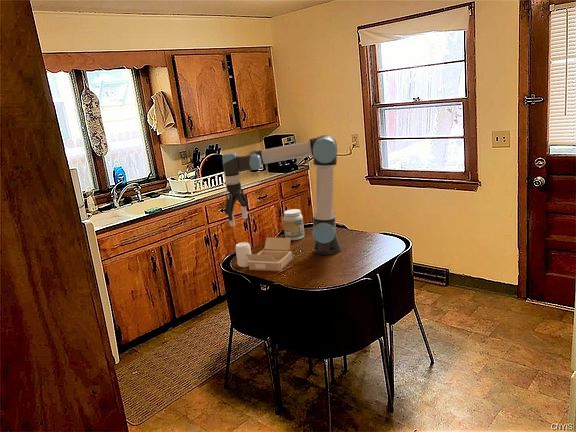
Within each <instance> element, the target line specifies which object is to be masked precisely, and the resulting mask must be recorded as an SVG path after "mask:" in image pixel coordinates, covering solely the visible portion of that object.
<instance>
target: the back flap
mask: <svg viewBox="0 0 576 432" xmlns="http://www.w3.org/2000/svg"><path fill="white" fill-rule="evenodd" d="M291 241H292V240H291V238H286V237H266V238H265V244H264V249H263V250H272V251H290V247H291Z"/></svg>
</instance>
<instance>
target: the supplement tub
mask: <svg viewBox="0 0 576 432" xmlns="http://www.w3.org/2000/svg"><path fill="white" fill-rule="evenodd" d="M282 222H283V229H284V236H285V237H284V238H291V241H298V240H301V239H303V238H304V237H305V228H304V227H305V226H304V218H303V215H302V212H301V209H295V208H293V209H292V208H291V209H287V210H285V211H283V218H282Z"/></svg>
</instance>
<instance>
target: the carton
mask: <svg viewBox="0 0 576 432" xmlns="http://www.w3.org/2000/svg"><path fill="white" fill-rule="evenodd" d="M256 255H272V257H273V258H274V259H275V260H276V262H266V261H250V260H249V262H248V264H249V266H248V269H249V270H250V271H264V272H279V273H280V272H281V271H282V270H284V268H285V267H286V266H287V265H288V264H290V263H291V262H292V261H293V259H294V257H293V251H291V250H267V249H262V250H261V251H259V252H258V253H257V254H256Z"/></svg>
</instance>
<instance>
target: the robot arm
mask: <svg viewBox="0 0 576 432" xmlns="http://www.w3.org/2000/svg"><path fill="white" fill-rule="evenodd" d="M309 156H310V157H312V158H313V159H312V160H313V165H314V167H315V169H316V170H315V172H316V177H315V181H316V182H315V183H316V184H315V188H316V189H315V211H314V212H313V215H312V231H311V234H312V236H313V239H314V240H315V241H314V245H313V252H314V253H315V254H316V255H320V256H329V255H334V254H337V253H339V252H340V251H342V246H341V243H340V241H339V239H338V237H337V236H338V235H337V226H336V214H335V211H334V209H333V208H334V201H333V200H334V169H335V167H336V166H337V160H338V158H337V157H338V143H337V140H336V139H335V138H334V137H333V136H331V135H329V134H328V135H327V134H325V135H324V134H323V135H319V136H316V137H313V138H312V137H311V138H309V139H308V140H307V141H303V142H298V143H293V144H292V143H291V144H287V145H281V146H277V147H276V146H275V147H271V148H266V149H259V150H253V151H250V152H249V153H248V154H246V155H241V156H238V155H237V153H236V152H227V153H224V154H222V156H221V158H222V167H223V173H224V179H225V184H226V185H225V186H226V191H227V192H228V194H226V195H225V199H226V200H225V201H226V202H225V210H224V214H225V215H227V216H228V221H229V227H236V220H235V216H234V208H235V203H237V202H238V203H239V205H240V206H241V207H240V211H241V216H242V217H241V218H242V219H248V211H247V207H248V204H249V202H248V200H247V197H246V196H245V193H244V189H243V188H242V184H241V177H240V172H242V171H243V172H244V171H256V170H260V169H261V168H262V165H265V164H271V163H276V162H282V161H287V160H293V159H298V158H299V159H300V158H305V157H309Z"/></svg>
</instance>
